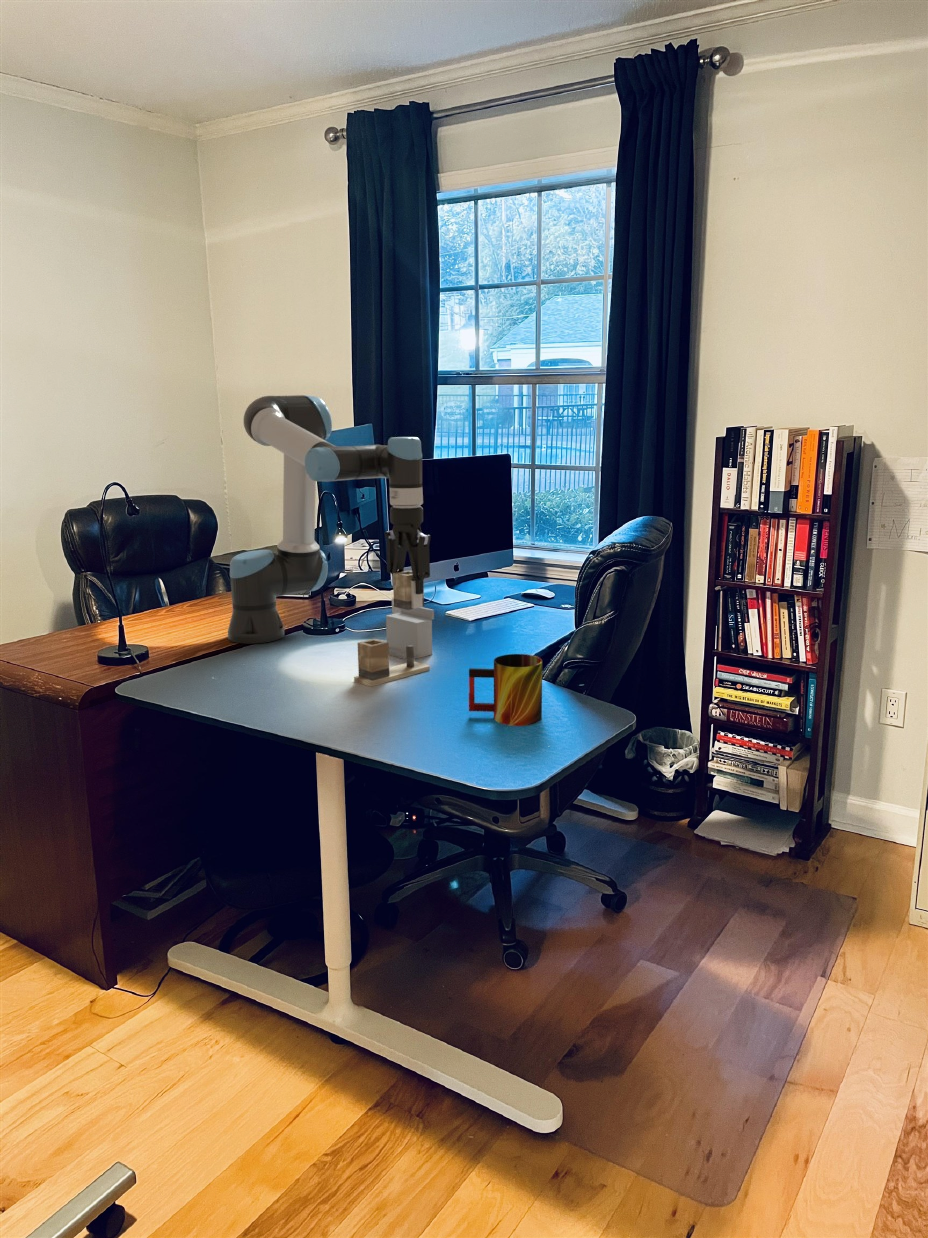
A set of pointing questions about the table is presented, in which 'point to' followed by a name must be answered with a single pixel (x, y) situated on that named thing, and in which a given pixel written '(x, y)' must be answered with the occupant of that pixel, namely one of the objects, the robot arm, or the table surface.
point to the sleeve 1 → (373, 659)
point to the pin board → (398, 670)
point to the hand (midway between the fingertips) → (409, 605)
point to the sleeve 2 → (403, 590)
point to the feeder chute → (410, 632)
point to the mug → (512, 689)
